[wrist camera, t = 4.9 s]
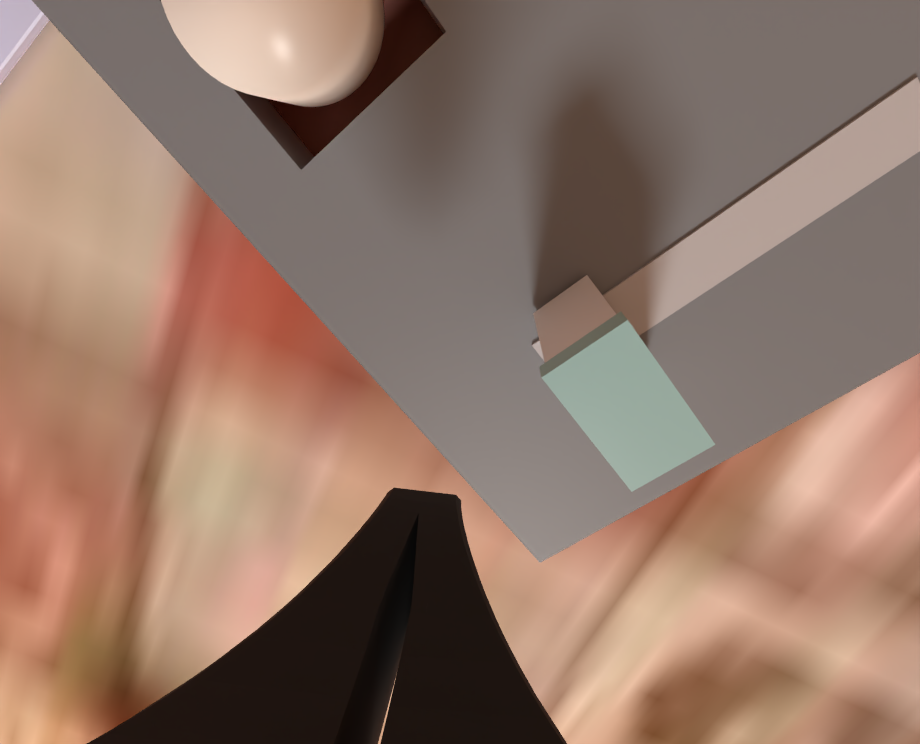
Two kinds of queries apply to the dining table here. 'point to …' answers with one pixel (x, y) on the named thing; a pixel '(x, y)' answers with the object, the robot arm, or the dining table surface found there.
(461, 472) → the control panel
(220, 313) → the dining table surface
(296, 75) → the white button
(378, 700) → the robot arm
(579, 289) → the pale green slider knob
